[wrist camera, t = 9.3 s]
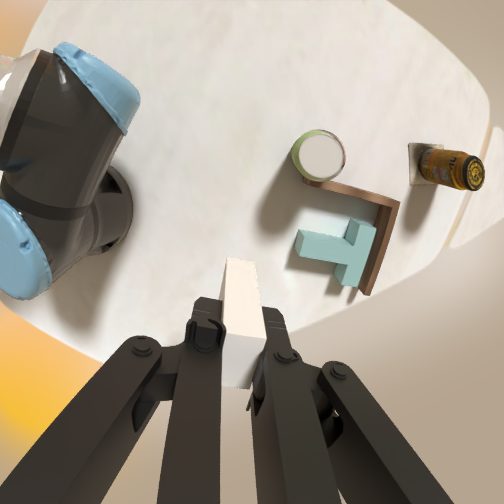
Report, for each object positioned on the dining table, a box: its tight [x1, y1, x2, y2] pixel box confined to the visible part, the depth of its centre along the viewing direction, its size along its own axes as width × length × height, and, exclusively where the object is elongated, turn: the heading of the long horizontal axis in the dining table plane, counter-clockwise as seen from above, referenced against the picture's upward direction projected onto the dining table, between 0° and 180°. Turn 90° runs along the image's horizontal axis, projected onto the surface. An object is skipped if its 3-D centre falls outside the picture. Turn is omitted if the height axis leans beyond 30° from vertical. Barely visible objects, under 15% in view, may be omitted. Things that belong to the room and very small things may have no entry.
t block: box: [294, 218, 376, 287], centre depth 42 cm, size 11×10×4 cm
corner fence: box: [303, 176, 400, 296], centre depth 41 cm, size 15×16×4 cm
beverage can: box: [291, 130, 346, 182], centre depth 33 cm, size 6×7×12 cm
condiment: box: [409, 143, 485, 191], centre depth 34 cm, size 7×8×12 cm
